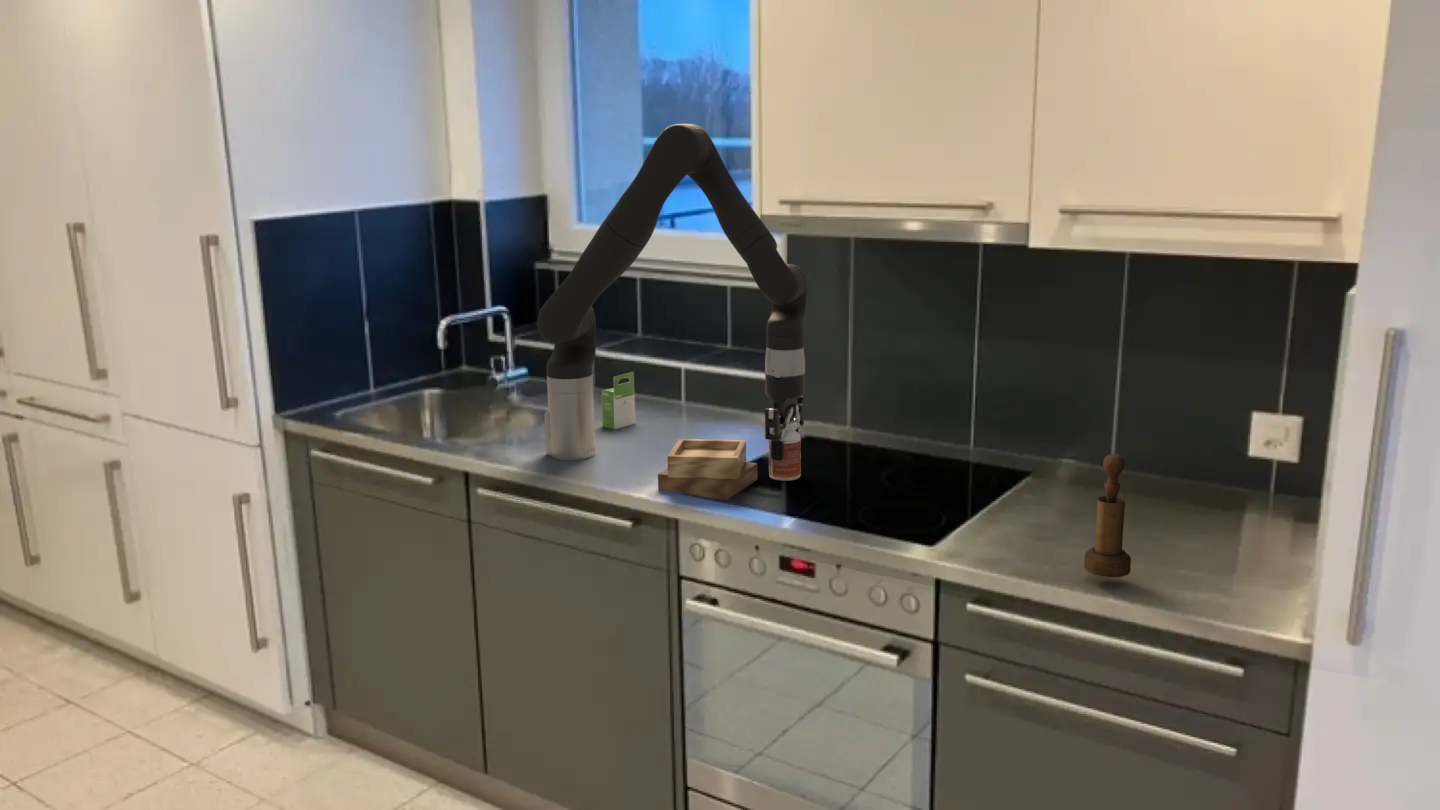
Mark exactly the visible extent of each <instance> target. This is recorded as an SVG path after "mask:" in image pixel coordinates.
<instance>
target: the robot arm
mask: <svg viewBox="0 0 1440 810" xmlns="http://www.w3.org/2000/svg"><path fill="white" fill-rule="evenodd" d="M686 176H688V177H689V178H691V180H692V181H693V182H694V183H695V184H696V185H697V186H698V187H699V189H700V190H701V191H702V192H703V194H704V195H705V197H706V199H707V200H708V202H709V203H710V206H711V207H712V210H713V212H714V214H715V217H716V219H717V220H718V223H719V225H720V228H721V230H722V231H723V233H724V235H725V236H726V238H727V239H728V241H729V242H730V243H731V245H732V246H733V248H734V249H735V251H736V252H737V253H738V255H739V256H740V257H741V259H742V260H743V261H744V262H745V263H746V265H747V267H748V270H749V272H750V274H751V276H752V277H753V278H752V279H754V282H755V284H756V285H757V287H758V288H759V290H760V291H761V293H762V294H763V296H764V297H765V298H766V299H767V300H768V301H769V302H770V303H771V313H770V316H769V318H768V320H767V323H766V335H765V337H766V340H765V341H766V343H765V345H766V349H765V357H764V367H765V368H764V373H765V374H764V376H765V377H764V380H765V381H764V384H765V386H764V390H765V392H764V393H765V395H766V396H767V397H769V398H771V399H772V407H771V408H769V407H768V408H765V409H764V433H765V435H764V436H765V440H767V441H769V440H771V458H772V460H778V461H781V460H782V459H783V438H784V433H785V431H787V430H788V426H789V422H791V421H793V420H795V421H797V429H796V430H795V431H796V432H798V433H799V432H800V431H801V427H803V426H804V425H805V396H804V395H805V393H806V390H805V389H806V381H805V380H806V375H805V374H806V358H805V351H804V350H805V349H804V346H805V345H804V342H805V341H804V337H805V336H804V320H805V319H804V318H805V313H806V308H807V300H808V281H807V279H808V278H807V276H806V274H805V272H804V270H803V269H802V268H801V267H800V266H798V265H796V264H793V263H786V261H784V259H783V258H782V256H781V254H780V253H779V251H778V249H777V248H778V244H777V241H776V239H775V237H774V236H773V234H772V233H771V231H770V230H769V229H768V227H767V226H766V224H765V223H764V222H763V220H762V219H761V218H760V216H758V214H757V213H756V211H755V210H754V209H753V208H752V206H751V205H750V203H749V202H748V200H747V199H746V198H745V196H744V195H743V194H742V192H741V190H740V189H739V187H738V185H737V184H736V182H735V181H734V179H733V177H732V175H731V174H730V172H729V170H728V169H727V167H726V165H725V163H724V161H723V159H722V157H721V156H720V153H719V151H718V149H717V148H716V145H715V142H714V141H713V140H712V138H711V136H710V135H709V133H708V132H707V131H706V129H704V128H703V127H702V126H700V125H697V124H694V123H675V124H672V125H671V124H670V125H669V126H667V127H666V128H665V129H663V130H662V131H661V132H660V133H659V135H658V136H657V137H656V139H655V141H654V143H653V145H652V147H651V148H650V150H649V152H648V154H647V156H646V158H645V160H644V162H643V164H642V165H641V167H640V169H639V171H638V173H637V174H636V176H635V177H634V179H633V180H632V181H631V183H630V184H629V186H628V187H627V188H626V190H625V191H623V194H622V195H621V196H620V197H619V199H618V201H617V202H616V203H615V205H614V206H613V208H611V210H610V212H609V213H608V214H607V216H606V217H605V219H604V220H603V221H602V223H601V224H600V226H599V227H598V228H597V230H596V232H595V233H594V235H593V237H592V239H591V240H590V241H589V243H588V245H587V246H586V247H585V249H584V250H583V252H582V253H581V254H580V256H579V258H578V259H577V261H576V263H575V265H574V266H573V268H572V270H571V271H570V272H569V274H568V275H567V277H566V278H565V279H564V280H563V281H562V283H561V284H560V285H559V286H558V287H557V289H556V290H555V291H554V292H553V293H552V294H551V295H550V297H549V298H548V299H547V300H546V301H545V303H544V304H543V305H542V307H541V308H540V310H539V313H538V316H537V329H538V332H539V334H540V336H541V337H542V339H544V340H545V341H547V342H548V343H550V344H553V349H552V350H553V351H552V354H551V356H550V358H548V361H547V363H546V369H545V370H546V385H547V386H546V387H547V407H548V409H547V411H545V412H544V437H545V438H544V439H545V454H546V455H547V456H550V457H552V458H554V459H556V460H563V461H578V460H586V459H589V458H592V457H594V456H595V455H596V436H595V435H596V434H595V432H596V431H595V429H596V428H595V405H594V403H595V402H594V377H593V376H594V374H593V366H594V362H595V360H596V351H597V346H596V345H597V338H596V336H597V325H596V324H597V323H596V315H595V311H594V308H593V305H594V303H595V302H596V300H597V299H598V298H599V296H601V294H602V293H603V292H604V291H605V290H606V289H608V288H609V287H610V286H611V285H612V284H613V283H614V282H616V281H617V280H618V279H619V278H620V277H621V276H622V275H624V273H625V272H626V271H628V270H629V268H630V267H631V266H632V265H633V264H634V262H635V261H636V260H637V258H638V257H639V255H640V254H641V253H642V251H643V250H644V248H645V247H646V246H647V244H648V242H649V241H650V239H651V238H652V235H653V233H654V231H655V229H656V226H657V223H658V220H659V217H660V214H661V211H662V209H663V206H664V205H665V202H666V201H667V199H668V198H669V197H670V195H671V194H672V192H674V190H676V188H677V187H678V186H679V184H680V183H681V181H682V180H683V179H684V178H686ZM781 424H782V425H781ZM799 434H800V433H799Z"/></svg>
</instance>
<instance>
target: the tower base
mask: <svg viewBox="0 0 1440 810" xmlns="http://www.w3.org/2000/svg"><path fill="white" fill-rule="evenodd" d="M757 480H758V463H757V462H749V461H748V462H747V461H746V462H745V464H744V467H743V469H742V471H741V474H740V476H739V478H738V479H715V478H674V477H668V468H667V469H664V470H663V471H661V472H659V473H657V488H658V490H659V491H665V492H670V493H675V494H676V493H678V494H684V495H690V496H696V497H701V498H702V497H703V498H708V499H715V500H719V501H728V500H729V499H731V498H732V497H734V496H735V495H736V494H738V493H740V492H741V491H743V490H744V489H745V488H747V487H749V486H750V485H752V484H753V483H754V482H756V481H757Z"/></svg>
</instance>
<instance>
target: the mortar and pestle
mask: <svg viewBox="0 0 1440 810" xmlns="http://www.w3.org/2000/svg"><path fill="white" fill-rule="evenodd" d="M1102 465H1103V468H1104V471H1105V473H1106V475H1107V480H1106V481H1105V482H1104V483H1103V487H1104V491H1105V492H1104V493H1105V495H1102V496H1099V497H1098V498H1097V507H1096V511H1097V512H1096V527H1095V537H1094V538H1095V541H1094V546H1093V547H1091V548H1089V549H1088V550H1087V551H1086V552H1085V553H1084V563H1083V564H1084V565H1083V566H1084V570H1085V571H1086V572H1088V573H1090V574H1093V575H1095V576H1099V577H1106V578H1122V577H1125V576H1127V575H1129V574H1131V567H1132V566H1131V561H1132V558H1131V556H1130V554H1128V553H1127V552H1126V551H1125V550H1124V549H1123V539H1124V521H1125V509H1126V506H1125V505H1126V500H1125V498H1124V497H1121V496H1118V495H1119V492H1120V489H1121V483H1119V482H1118V481H1119V480H1118V478H1119V477H1120V475H1121V473H1122V472H1123V471H1124V468H1125V465H1126V462H1125V459H1124V458H1123V456H1121V455H1120V454H1118V453H1111V454H1108V455H1106V456H1105V457H1104V459H1103V461H1102Z"/></svg>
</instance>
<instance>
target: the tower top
mask: <svg viewBox="0 0 1440 810" xmlns="http://www.w3.org/2000/svg"><path fill="white" fill-rule="evenodd" d="M666 457H667V469H668V477H674V478H715V479H738V478H739V476H740V474H741V471H742V469H743V467H744V464H745V462H747V440H745V439H741V440H740V439H739V440H738V439H704V438H701V439H699V438H698V439H697V438H693V439H692V438H679V439H678V440H677V441H676V443H675V444H674V446H673V447H672V449H671V451H670V452H669V453H668V455H667V456H666Z"/></svg>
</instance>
